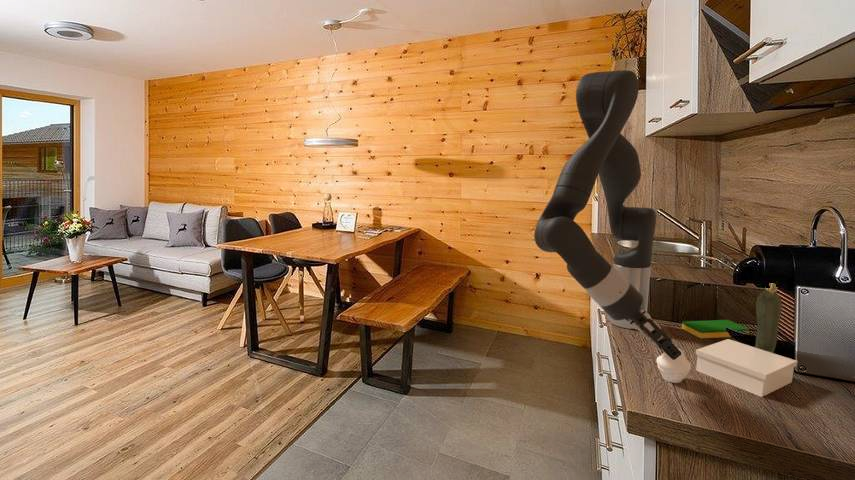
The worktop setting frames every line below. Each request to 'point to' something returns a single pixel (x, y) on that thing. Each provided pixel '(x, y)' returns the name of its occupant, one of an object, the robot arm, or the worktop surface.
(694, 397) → the worktop surface
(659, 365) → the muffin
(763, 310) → the vegetable
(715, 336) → the dish sponge
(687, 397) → the worktop surface
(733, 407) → the worktop surface
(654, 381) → the worktop surface
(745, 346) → the cardboard box
